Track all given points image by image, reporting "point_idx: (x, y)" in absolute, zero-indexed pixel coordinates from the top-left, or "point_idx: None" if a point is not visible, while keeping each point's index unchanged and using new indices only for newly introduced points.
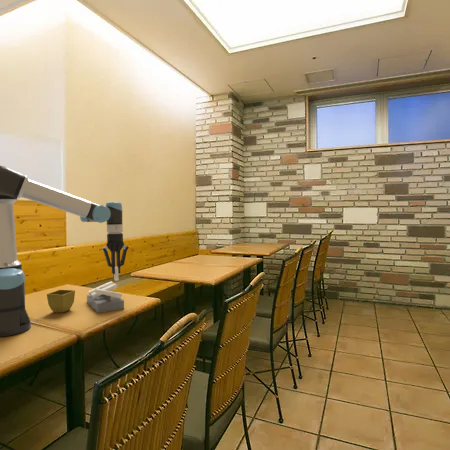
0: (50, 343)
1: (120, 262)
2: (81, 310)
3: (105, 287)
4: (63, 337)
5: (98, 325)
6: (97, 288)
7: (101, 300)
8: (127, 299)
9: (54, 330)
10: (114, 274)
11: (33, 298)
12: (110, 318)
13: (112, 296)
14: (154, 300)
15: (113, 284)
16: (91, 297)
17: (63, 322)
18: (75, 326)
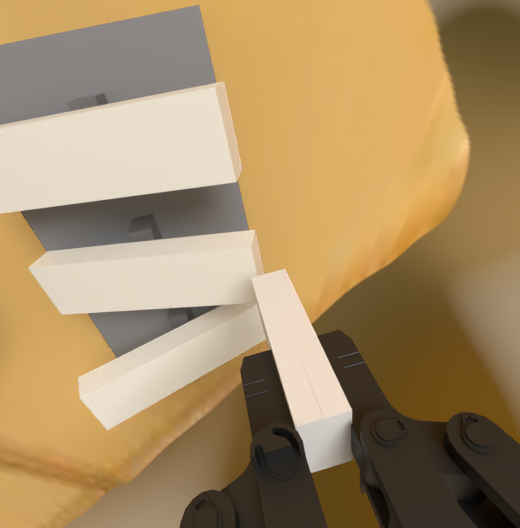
0: (51, 523)
1: (481, 478)
2: (20, 279)
3: (154, 261)
4: (72, 502)
5: (161, 447)
6: (55, 186)
7: (141, 313)
8: (320, 102)
9: (11, 471)
10: (269, 345)
11: None
12: (198, 401)
13: (212, 232)
14: (445, 202)
15: (234, 271)
16: (34, 211)
17: (4, 419)
18: (79, 450)
